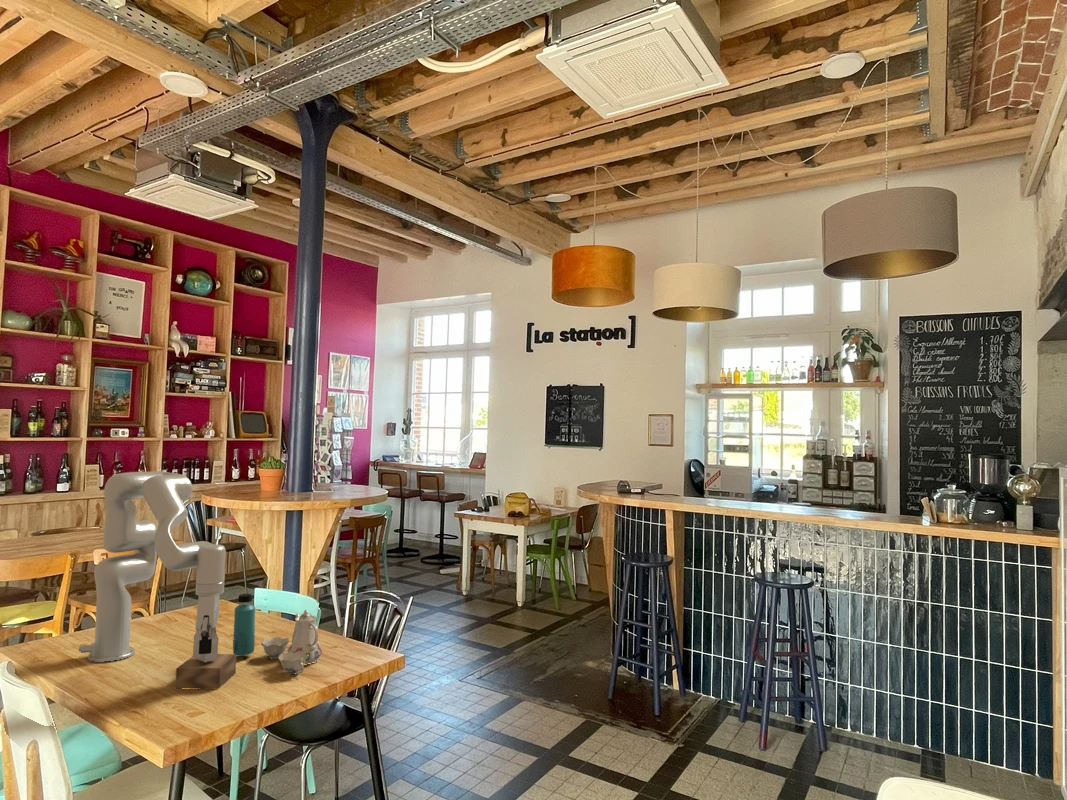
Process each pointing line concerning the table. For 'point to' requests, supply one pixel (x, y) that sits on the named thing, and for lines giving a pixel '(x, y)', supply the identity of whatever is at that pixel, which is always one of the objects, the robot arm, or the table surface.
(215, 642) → the milk carton
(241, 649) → the beverage bottle
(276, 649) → the chinaware
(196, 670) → the brown wooden block
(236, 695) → the table surface
